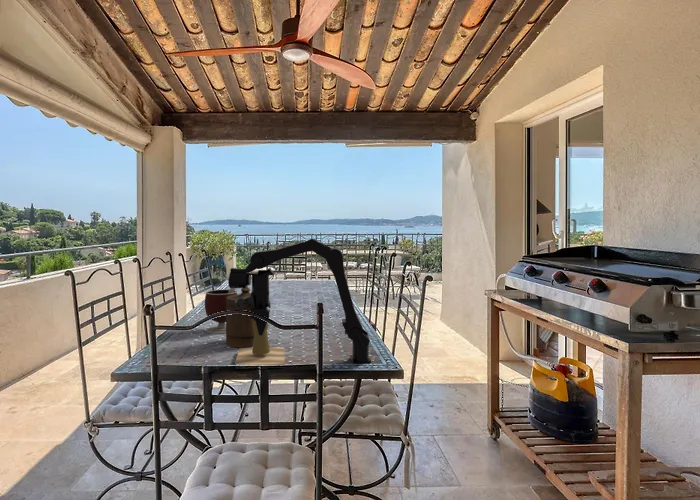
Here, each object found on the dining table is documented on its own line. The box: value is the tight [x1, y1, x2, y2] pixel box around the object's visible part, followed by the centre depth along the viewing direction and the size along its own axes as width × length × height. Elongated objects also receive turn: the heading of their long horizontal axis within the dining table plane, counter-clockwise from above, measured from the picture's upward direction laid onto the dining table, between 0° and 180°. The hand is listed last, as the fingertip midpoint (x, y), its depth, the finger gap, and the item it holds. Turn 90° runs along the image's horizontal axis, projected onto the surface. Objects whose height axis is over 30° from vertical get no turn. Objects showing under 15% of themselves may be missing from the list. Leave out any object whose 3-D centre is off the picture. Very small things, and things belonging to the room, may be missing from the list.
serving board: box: [234, 346, 286, 366], centre depth 144 cm, size 18×16×2 cm
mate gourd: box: [204, 288, 238, 335], centre depth 182 cm, size 16×14×20 cm
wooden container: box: [225, 287, 255, 348], centre depth 165 cm, size 15×15×22 cm
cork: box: [252, 321, 271, 355], centre depth 143 cm, size 6×6×11 cm
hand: (261, 333), depth 143 cm, fingers closed on cork, 5 cm apart
